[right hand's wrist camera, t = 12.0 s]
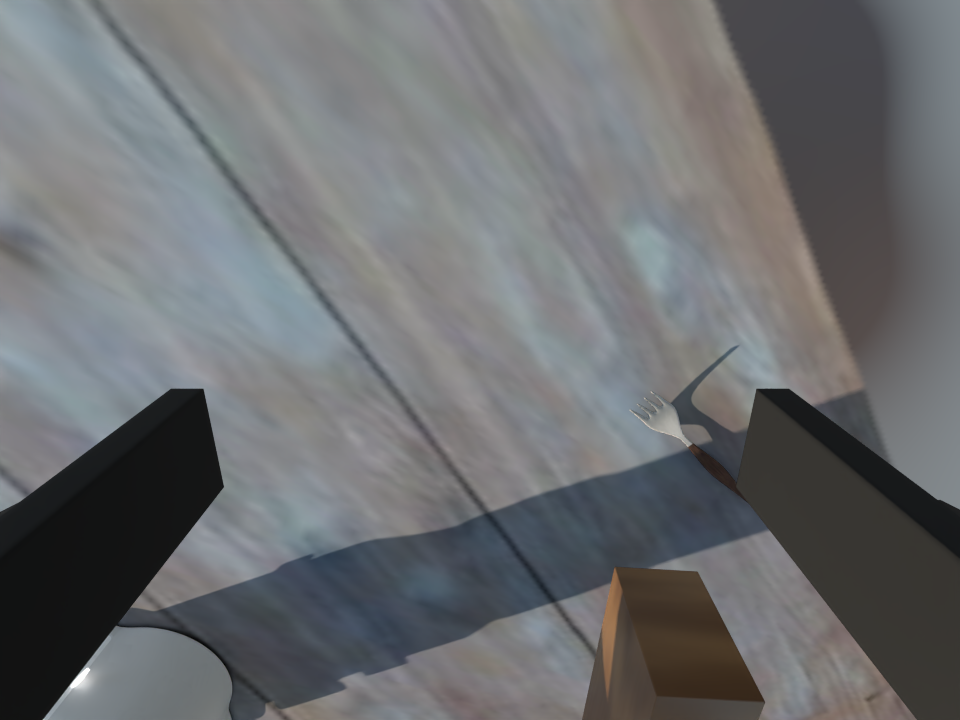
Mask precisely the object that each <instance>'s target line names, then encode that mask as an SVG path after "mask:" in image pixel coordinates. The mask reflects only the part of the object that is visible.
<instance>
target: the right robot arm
mask: <svg viewBox="0 0 960 720" xmlns="http://www.w3.org/2000/svg"><path fill="white" fill-rule="evenodd" d="M223 488H224V485H223V480H222V475H221V471H220V466H219V461H218V456H217V451H216V447H215V442H214V437H213V432H212V428H211V423H210V418H209V413H208V408H207V404H206V399H205V394H204V389H170V390H169V391H168V392H166V393H165V394H164V395H162V396H161V397H159V398H158V399H157V400H155V401H154V402H153V403H151V404H150V405H149V406H147V407H146V408H145V409H143V410H142V411H141V412H139V413H138V414H137V415H135V416H134V417H133V418H131V419H130V420H129V421H127V422H126V423H125V424H123V425H122V426H121V427H119V428H118V429H117V430H115V431H114V432H113V433H111V434H110V435H109V436H107V437H106V438H105V439H103V440H102V441H101V442H99V443H98V444H97V445H95V446H94V447H93V448H91V449H90V450H89V451H87V452H86V453H85V454H83V455H82V456H81V457H79V458H78V459H77V460H75V461H74V462H73V463H71V464H70V465H69V466H67V467H66V468H65V469H63V470H62V471H61V472H59V473H58V474H57V475H55V476H54V477H53V478H51V479H50V480H49V481H47V482H46V483H45V484H43V485H42V486H41V487H39V488H38V489H37V490H35V491H34V492H33V493H31V494H30V495H29V496H27V497H26V498H25V499H23V500H22V501H21V502H19V503H17V504H15V505H13V506H11V507H9V508H7V509H5V510H3V511H1V512H0V720H43V719H44V718H45V717H46V715H47V714H48V713H49V711H50V710H51V709H52V708H53V706H54V705H55V704H56V702H57V701H58V700H59V698H60V697H61V696H62V695H63V693H64V692H65V691H66V689H67V688H68V687H69V686H70V684H71V683H72V682H73V680H74V679H75V678H76V677H77V675H78V674H79V673H80V671H81V670H82V669H83V668H84V666H85V665H86V664H87V662H88V661H89V660H90V659H91V657H92V656H93V655H94V653H95V652H96V651H97V650H98V648H99V647H100V646H101V644H102V643H103V642H104V641H105V639H106V638H107V637H108V635H109V634H110V633H111V632H112V630H113V629H114V628H115V626H116V625H117V624H118V623H119V621H120V620H121V619H122V617H123V616H124V615H125V614H126V612H127V611H128V610H129V608H130V607H131V606H132V605H133V603H134V602H135V601H136V599H137V598H138V597H139V596H140V594H141V593H142V592H143V590H144V589H145V588H146V587H147V585H148V584H149V583H150V581H151V580H152V579H153V578H154V576H155V575H156V574H157V572H158V571H159V570H160V569H161V567H162V566H163V565H164V563H165V562H166V561H167V560H168V558H169V557H170V556H171V554H172V553H173V552H174V551H175V549H176V548H177V547H178V545H179V544H180V543H181V542H182V540H183V539H184V538H185V536H186V535H187V534H188V533H189V531H190V530H191V529H192V527H193V526H194V525H195V524H196V522H197V521H198V520H199V518H200V517H201V516H202V515H203V513H204V512H205V511H206V509H207V508H208V507H209V506H210V504H211V503H212V502H213V500H214V499H215V498H216V497H217V495H218V494H219V493H220V491H221V490H222V489H223ZM736 488H737V489H738V490H739V491H740V493H741V494H742V495H743V497H744V498H745V499H746V500H747V502H748V503H749V504H750V506H751V507H752V508H753V509H754V511H755V512H756V513H757V515H758V516H759V517H760V518H761V520H762V521H763V522H764V524H765V525H766V526H767V527H768V529H769V530H770V531H771V533H772V534H773V535H774V536H775V538H776V539H777V540H778V542H779V543H780V544H781V545H782V547H783V548H784V549H785V551H786V552H787V553H788V554H789V556H790V557H791V558H792V560H793V561H794V562H795V563H796V565H797V566H798V567H799V569H800V570H801V571H802V572H803V574H804V575H805V576H806V578H807V579H808V580H809V581H810V583H811V584H812V585H813V587H814V588H815V589H816V590H817V592H818V593H819V594H820V596H821V597H822V598H823V599H824V601H825V602H826V603H827V605H828V606H829V607H830V608H831V610H832V611H833V612H834V614H835V615H836V616H837V617H838V619H839V620H840V621H841V623H842V624H843V625H844V626H845V628H846V629H847V630H848V632H849V633H850V634H851V635H852V637H853V638H854V639H855V641H856V642H857V643H858V644H859V646H860V647H861V648H862V650H863V651H864V652H865V653H866V655H867V656H868V657H869V659H870V660H871V661H872V662H873V664H874V665H875V666H876V668H877V669H878V670H879V671H880V673H881V674H882V675H883V677H884V678H885V679H886V680H887V682H888V683H889V684H890V686H891V687H892V688H893V689H894V691H895V692H896V693H897V695H898V696H899V697H900V698H901V700H902V701H903V702H904V704H905V705H906V706H907V708H908V709H909V710H910V711H911V713H912V714H913V715H914V717H915V718H916V719H917V720H960V510H959V509H957V508H955V507H953V506H951V505H949V504H947V503H945V502H943V501H941V500H937V499H935V498H934V497H933V496H931V495H930V494H929V493H927V492H926V491H925V490H923V489H922V488H921V487H919V486H918V485H917V484H915V483H914V482H913V481H911V480H910V479H909V478H907V477H906V476H905V475H903V474H902V473H901V472H899V471H898V470H897V469H895V468H894V467H893V466H891V465H890V464H889V463H887V462H886V461H885V460H883V459H882V458H881V457H879V456H878V455H877V454H875V453H874V452H873V451H871V450H870V449H869V448H867V447H866V446H865V445H863V444H862V443H861V442H859V441H858V440H857V439H855V438H854V437H853V436H851V435H850V434H849V433H847V432H846V431H845V430H843V429H842V428H841V427H839V426H838V425H837V424H835V423H834V422H833V421H831V420H830V419H829V418H827V417H826V416H825V415H823V414H822V413H821V412H819V411H818V410H817V409H815V408H814V407H813V406H811V405H810V404H809V403H807V402H806V401H805V400H803V399H802V398H801V397H799V396H798V395H796V394H795V393H794V392H792V391H791V390H790V389H756V394H755V399H754V404H753V408H752V413H751V418H750V423H749V428H748V432H747V437H746V442H745V447H744V451H743V456H742V461H741V466H740V471H739V475H738V480H737V485H736Z"/></svg>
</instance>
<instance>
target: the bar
mask: <svg viewBox="0 0 960 720" xmlns="http://www.w3.org/2000/svg"><path fill="white" fill-rule="evenodd" d="M764 704H765V701H764V699H763V697H762V695H761V693H760V691H759V689H758V687H757V686H756V684H755V682H754V680H753V678H752V676H751V674H750V672H749V670H748V668H747V666H746V664H745V662H744V660H743V658H742V657H741V655H740V653H739V651H738V649H737V647H736V645H735V643H734V641H733V639H732V637H731V635H730V633H729V631H728V630H727V628H726V626H725V624H724V622H723V620H722V618H721V616H720V614H719V612H718V610H717V608H716V606H715V604H714V602H713V601H712V599H711V597H710V595H709V593H708V591H707V589H706V587H705V585H704V583H703V581H702V579H701V577H700V575H699V574H698V572H695V571H678V570H661V569H643V568H626V567H615V568H614V573H613V577H612V582H611V587H610V591H609V596H608V601H607V606H606V610H605V615H604V620H603V624H602V629H601V634H600V638H599V643H598V648H597V653H596V657H595V662H594V667H593V671H592V676H591V681H590V685H589V690H588V695H587V699H586V704H585V709H584V714H583V718H582V720H758V719H759V717H760V714H761V711H762V709H763V706H764Z"/></svg>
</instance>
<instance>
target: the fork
mask: <svg viewBox="0 0 960 720" xmlns="http://www.w3.org/2000/svg"><path fill="white" fill-rule="evenodd" d="M651 393H653V394H654V395H655V396H656V398H657V399H658V400H659V401H661V403H662V406H658V405H657V404H655V403H653V402H652V401H650V400H648V399H647V398H645V397H644V399H645V400H646V401H647V402H649V403H650V404H651V405H652V406H653V407H654V408H655V410H656V411H655V412H652V411H650V410H648V409H647V408H645V407H643V406H641V405H640V404H638V403H637V405H638V406H639V407H641V408H642V409H643V410H644V411H645V412H646V413H647V414H648V415H649V417H648V418H646V417H644V416H642V415H640V414H638V413H637V412H635V411H633V410H631V409H630V411H631V412H633V413H634V414H635V415H636V416H637V417H638V418H640V419H641V420H642V421H643V422H644V423H645V424H646V425H647V426H648V427H650V428H651V429H653V430H656V431H659V432H662V433H665V434H669V435H672V436H675V437H677V438H679V439H681V440H682V441H683V442H684V443H685V444H686V445H687V447H688V448H689V449H690V450H691V451H692V453H693V454H694V455H695V456H696V458H697V459H698V460H699V461H700V463H701V464H702V465H703V466H704V467H705V468H706V470H707V471H708V472H709V473H710V474H711V475H713V476H714V477H715V478H716V479H717V480H719V481H720V482H721V483H723V484H724V485H726V486H727V487H728V488H730V489H731V490H732V491H734V492H735V493H736V494H738V495H739V496H740V497H741V498H743V499H744V500H745V501H746V502H747V500H746V499H745V498H744V497H743V495H742V494H741V493H740V491H739V490H738V489H737V488H736V485H737V483H736V482H735V480H734V479H733V478H732V477H731V475H730V474H729V473H728V472H727V471H726V470H725V468H724V467H723V466H722V465H721V464H720V463H718V462H717V461H716V460H715V459H714V458H712V457H711V456H710V455H708V454H707V453H706V452H704V451H703V450H701V449H700V448H699V447H697V446H696V445H695V444H693V443H692V442H691V441H689V440H688V439H687V438H686V437H685V436H684V434H683V432H682V429H681V425H680V421H679V417H678V413H677V411H676V409H675V407H674V406H673V405H672V404H671V403H669V402H668V401H666V400H665V399H663V398H662V397H660V396H659V395H657V394H656V393H654V392H652V391H651Z"/></svg>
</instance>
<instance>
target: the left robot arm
mask: <svg viewBox="0 0 960 720" xmlns="http://www.w3.org/2000/svg"><path fill="white" fill-rule="evenodd" d="M231 696H232V681H231V678H230V675H229V673H228V671H227V669H226V667H225V666H224V664H223V663H222V662H221V660H220V659H219V658H218V657H217V656H216V655H215V654H214V653H213V652H212V651H210V650H209V649H208V648H206V647H205V646H204V645H202V644H200V643H199V642H197V641H195V640H193V639H191V638H189V637H187V636H184V635H182V634H179V633H176V632H173V631H169V630H164V629H159V628H149V627H135V628H126V627H119V626H115V628H114V629H113V630H112V632H111V633H110V634H109V635H108V637H107V638H106V639H105V641H104V642H103V643H102V644H101V646H100V647H99V648H98V650H97V651H96V652H95V653H94V655H93V656H92V657H91V659H90V660H89V661H88V662H87V664H86V665H85V666H84V668H83V669H82V670H81V671H80V673H79V674H78V675H77V677H76V678H75V679H74V680H73V682H72V683H71V684H70V686H69V687H68V688H67V689H66V691H65V692H64V693H63V695H62V696H61V697H60V698H59V700H58V701H57V702H56V704H55V705H54V706H53V708H52V709H51V710H50V711H49V713H48V714H47V715H46V717H45V718H44V719H43V720H232V718H231V715H230V712H229V703H230V700H231Z"/></svg>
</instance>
